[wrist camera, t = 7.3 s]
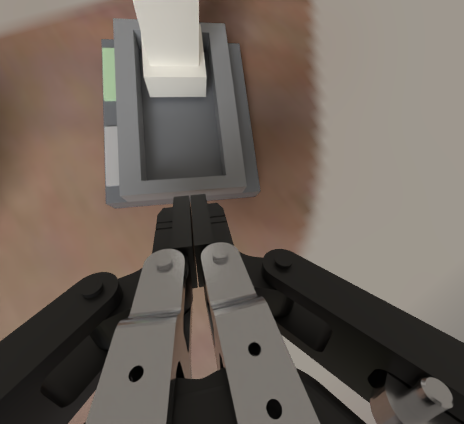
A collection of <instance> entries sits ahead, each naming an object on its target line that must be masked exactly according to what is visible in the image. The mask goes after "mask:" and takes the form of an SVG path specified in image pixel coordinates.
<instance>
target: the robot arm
mask: <svg viewBox="0 0 464 424" xmlns="http://www.w3.org/2000/svg"><path fill="white" fill-rule="evenodd" d="M190 197H191V206H190V198H189V195H188V196H177V197H174V198H173V207H170V208H163V209H162V210H161V212H160V213H159V214H158V216H157V224H156V230H155V237H154V244H153V251H152V254H151V255H150V256H149V257H148V258H147V259H146V260H145V262H144V265H143V268H141V269H140V270H138V271H136V272H134V273H132V274H130V275H127V276H124V277H122V278H119V279H117V277H116V276H115V275H113V274H111V273H108V272H99V273H95V274H92V275H89V276H87V277H85V278H83V279H82V280H80V281H79V282H78V283H76V284H75V285H74V286H72V287H71V288H70V289H68V290H67V291H66V292H64V293H63V294H62V295H60V296H59V297H58V298H57V299H55V300H54V301H53V302H51V303H50V304H49V305H47V306H46V307H45V308H43V309H42V310H41V311H40V312H38V313H37V314H36V315H34V316H33V317H32V318H30V319H29V320H28V321H26V322H25V323H24V324H23V325H21V326H20V327H19V328H17V329H16V330H15V331H13V332H12V333H11V334H9V335H8V336H7V337H5V338H4V339H3V340H2V341H0V424H68V423H69V421H70V420H71V419H72V418H73V417H74V415H75V414H76V413H77V412H78V411H79V409H80V408H81V407H82V406H83V405H84V403H85V402H86V401H87V400H88V399H89V397H90V396H91V395H92V394H93V392H94V391H95V390H96V392H95V395H94V398H93V402H92V405H91V408H90V411H89V414H88V417H87V421H86V422H85V423H84V424H366V423H365V422H364V421H363V420H361V419H360V418H359V417H358V416H357V415H356V414H355V413H353V412H352V411H351V410H350V409H349V408H348V407H347V406H345V405H344V404H343V403H342V402H341V401H340V400H339V399H337V398H336V397H335V396H334V395H333V394H332V393H331V392H329V391H328V390H327V389H326V388H325V387H324V386H323V385H321V384H320V383H319V382H318V381H316V380H315V379H314V378H312V377H311V376H309V375H308V374H306V373H305V372H303V371H301V370H299V369H297V368H296V367H295V365H294V363H293V361H292V358H291V356H290V354H289V352H288V350H287V347H286V345H285V343H284V341H283V338H282V336H281V335H283V336H284V337H285V338H287V339H288V340H289V341H290V342H292V343H293V344H294V345H296V346H297V347H298V348H299V349H301V350H302V351H303V352H305V353H306V354H307V355H309V356H310V357H311V358H312V359H314V360H315V361H316V362H318V363H319V364H320V365H322V366H323V367H324V368H325V369H327V370H328V371H329V372H331V373H332V374H333V375H334V376H336V377H337V378H338V379H339V380H341V381H342V382H343V383H345V384H346V385H347V386H349V387H350V388H351V389H352V390H354V391H355V392H356V393H358V394H359V395H360V396H361V397H363V398H364V399H365V400H367V401H368V402H369V403H370V406H371V411H372V414H373V417H374V419H375V421H376V423H377V424H464V343H463V342H461V341H459V340H457V339H455V338H453V337H452V336H450V335H448V334H446V333H444V332H442V331H440V330H438V329H436V328H434V327H433V326H431V325H429V324H427V323H425V322H423V321H421V320H419V319H418V318H416V317H414V316H412V315H410V314H408V313H406V312H404V311H402V310H401V309H399V308H397V307H395V306H393V305H391V304H389V303H387V302H386V301H384V300H382V299H380V298H378V297H376V296H374V295H372V294H370V293H368V292H367V291H365V290H363V289H361V288H359V287H357V286H355V285H353V284H352V283H350V282H348V281H346V280H344V279H342V278H340V277H338V276H336V275H335V274H333V273H331V272H329V271H327V270H325V269H323V268H321V267H319V266H317V265H316V264H314V263H312V262H310V261H308V260H306V259H304V258H302V257H301V256H299V255H297V254H295V253H293V252H291V251H288V250H284V249H275V250H271V251H269V252H268V253H266V254H265V256H264V258H260V257H252V256H247V255H245V254H242V253H241V252H239V251H238V249H237V248H236V247H235V246H234V244H233V241H232V238H231V234H230V231H229V227H228V224H227V220H226V217H225V213H224V210H223V208H222V207H221V206H220V205H219V204H218V203H211V204H207V200H206V195H205V194H198V195H190ZM191 211H192V215H191ZM195 257H196V259H195ZM196 265H197V273H198V281H199V287H204V292H205V301H206V308H207V314H208V319H209V324H210V329H211V335H212V340H213V345H214V351H215V357H216V364H217V370H218V371H216V372H214V373H212V374H211V375H209V376H207V377H205V378H203V379H192V370H191V334H192V301H193V293H192V288H198V286H197V273H196Z"/></svg>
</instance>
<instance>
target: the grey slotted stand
mask: <svg viewBox="0 0 464 424" xmlns="http://www.w3.org/2000/svg"><path fill="white" fill-rule="evenodd" d="M199 24H201V33H202V41H203V50H204V59H205V68H206V77H207V79H206V97H150V95H149V92H148V89H147V86H146V83H145V79H144V74H143V57H142V41H141V30H140V26H139V23H138V20H136V19H114V18H113V28H114V40H109V39H102V75H103V112H104V150H105V187H106V204H107V205H109V206H111V207H113V208H126V207H138V206H150V205H162V204H173V198H174V197H177V196H188V195H189V198H190V202H191V197H190V195H198V194H205V195H206V200H207V201H209V200H221V199H233V198H245V197H255V196H256V195H257V194H258V193H259V192H260V184H259V178H258V171H257V164H256V157H255V150H254V143H253V136H252V129H251V122H250V115H249V108H248V102H247V95H246V88H245V81H244V74H243V67H242V60H241V53H240V46H239V44H234V43H227V36H226V28H225V24H222V23H201V22H199Z"/></svg>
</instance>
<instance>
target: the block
mask: <svg viewBox="0 0 464 424" xmlns="http://www.w3.org/2000/svg"><path fill="white" fill-rule="evenodd" d="M133 4H134V7H135V11H136V15H137V19H138V23H139V26H140V30H141V41H142V57H143V74H144V79H145V83H146V86H147V89H148V92H149V95H150V97H206V79H207V77H206V68H205V59H204V50H203V41H202V33H201V24H199V0H133Z"/></svg>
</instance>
